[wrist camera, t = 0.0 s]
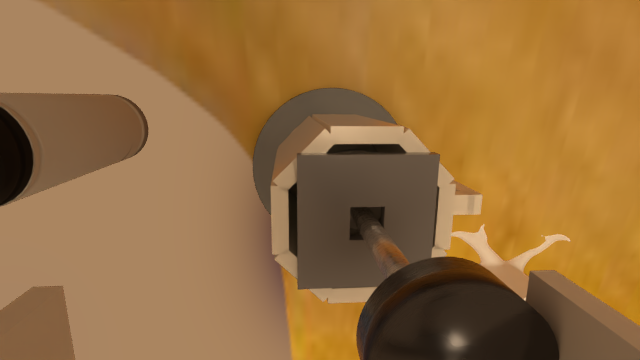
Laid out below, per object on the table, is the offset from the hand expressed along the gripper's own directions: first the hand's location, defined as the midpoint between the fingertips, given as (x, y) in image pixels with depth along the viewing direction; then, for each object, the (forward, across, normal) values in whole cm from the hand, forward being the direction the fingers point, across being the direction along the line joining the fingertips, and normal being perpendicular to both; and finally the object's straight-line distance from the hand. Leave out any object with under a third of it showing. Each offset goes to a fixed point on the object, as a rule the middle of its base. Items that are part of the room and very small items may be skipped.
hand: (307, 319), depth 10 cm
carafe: (+27, +5, -1) cm, 28 cm away
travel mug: (+28, -17, +3) cm, 33 cm away
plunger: (+15, +4, -1) cm, 16 cm away
